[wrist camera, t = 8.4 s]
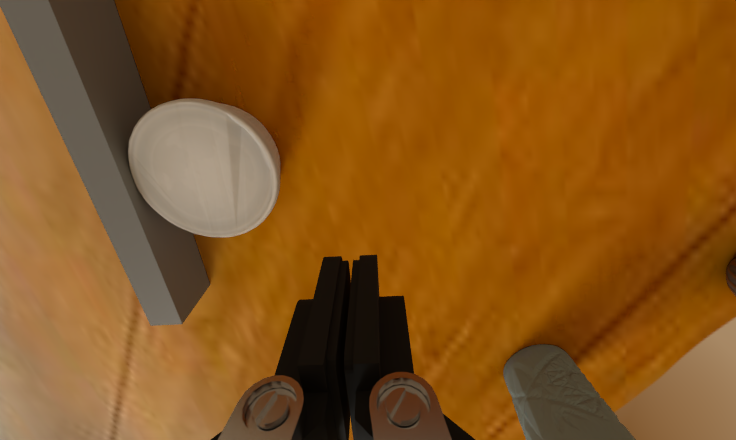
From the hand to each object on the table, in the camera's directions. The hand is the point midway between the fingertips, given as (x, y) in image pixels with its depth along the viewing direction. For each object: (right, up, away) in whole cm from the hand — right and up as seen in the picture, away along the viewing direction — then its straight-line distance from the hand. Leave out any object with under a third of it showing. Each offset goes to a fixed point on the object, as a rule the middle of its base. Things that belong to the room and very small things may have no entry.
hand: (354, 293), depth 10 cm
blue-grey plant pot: (+22, -17, +32) cm, 42 cm away
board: (-19, +8, +19) cm, 28 cm away
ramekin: (-12, +8, +19) cm, 24 cm away
